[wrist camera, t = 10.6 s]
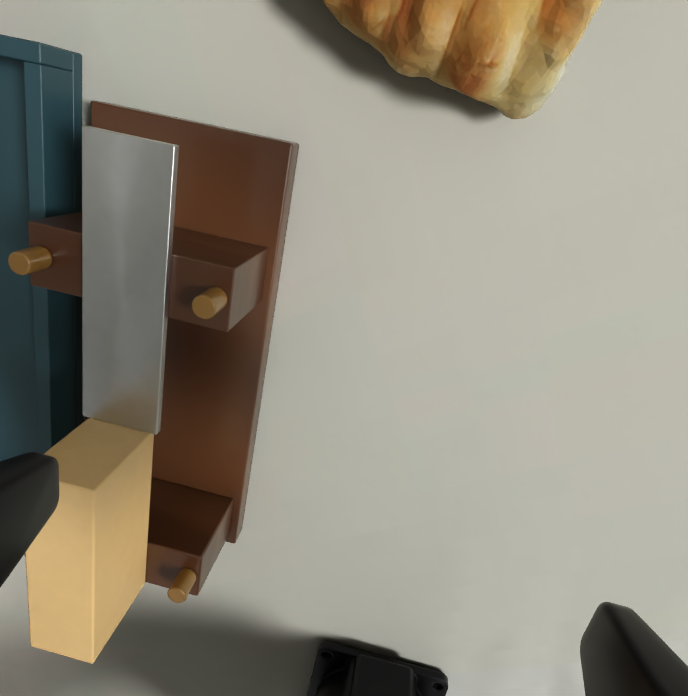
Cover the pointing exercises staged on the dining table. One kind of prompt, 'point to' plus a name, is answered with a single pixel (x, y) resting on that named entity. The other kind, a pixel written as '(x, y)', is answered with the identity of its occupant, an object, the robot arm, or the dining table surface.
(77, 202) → the cutlery tray
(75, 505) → the knife
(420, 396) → the dining table surface
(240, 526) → the knife rack
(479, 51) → the pastry
